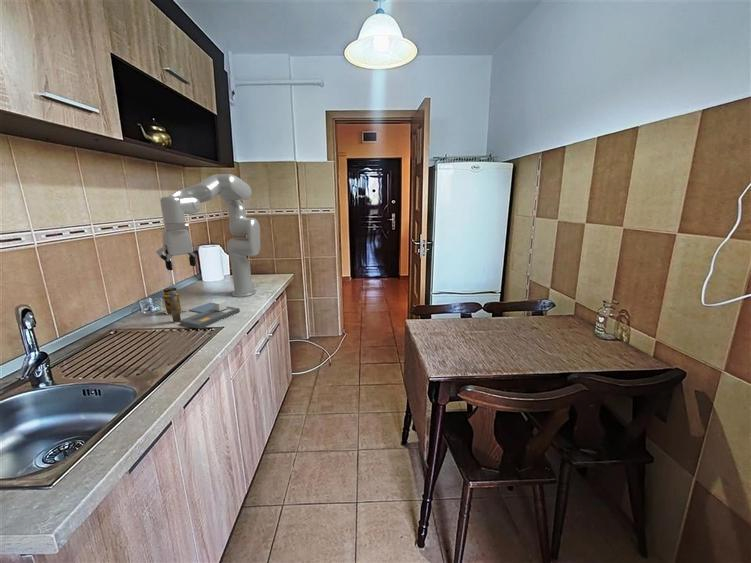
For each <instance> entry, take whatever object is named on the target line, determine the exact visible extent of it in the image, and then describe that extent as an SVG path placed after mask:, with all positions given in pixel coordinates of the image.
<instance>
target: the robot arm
mask: <svg viewBox="0 0 751 563" xmlns="http://www.w3.org/2000/svg"><path fill="white" fill-rule="evenodd" d="M252 194H253V192H252V188H251V187H250V185H249V184H248V183H247V182H246V181H244V180H242V179H241V178H240V177H238V176H237V175H235V174H233V173H232V174H231V173H222V174H221V173H220V174H216V173H215V174H213V175H210V176H208V177H207V178H205V179H203V180H202V181H200V182H199V183H196V184H194V185H190V186H188V187H185V188H182V189H179V190H176V191H175V192H173V193H171V194H170V195H168V196H163V197H160V207H161V213H162V218H163V225H164V231H162V247H160V248H159V249H157V250H156V251H155V252H156V254H157V255H158V257H159V258H160V259H162V260H163V261H164V263H165V268H166V269H167V271H173V269H174V268H173V262H172V260H171V259H172V257H174V256H180V255H181V256H182V255H189V257H188V261H189V265H190V266H191V267H196V264H197V263H196V262H197V261H196V257H197V254H198V253H199V249H200V246H199V245H197V244H195V243H192V238H191V236H190V232H189V231H188V230H189V229H187V228H188V227H189V224H188V223H186V220H185V215H195V214H197V213H199V212H200V211H201V209H202V208H201V207H202V205H201V204H202V203H205V202H210V201H212V200H213V199H214V198H215V197H217V196H218V195H219V197H220V198H221V199H222V200H223V202H224V203H225V204H226V206H227V209H228V224H229V226H228V227H229V232H230V233H231V235H233V236H241V237H233V238H231V239H229V240H228V241H227V242H226V250H227V253H228V256H229V260H230V265H231V272H232V274H231V275H232V279H233V288H234V291H232V292H231V295H232V296H233V297H236V298H239V297H241V298H243V297H249V296H252V295H255V294H256V292H257V291H256V289H255V288H258V287H259V284H258V283H255V284H253V281H252V272H251V264H250V261H249V259H248V256H249V257H250V256H251V257H254V256H257V255H259V254H260V252H261V227H260V223H259V221H258V220H257V219H256V218H253V217H247V215H246V208H245V205H244V204H243V203H242V201H248V200H250V199H251V197H252ZM242 236H244V237H242ZM245 236H247V237H245ZM193 248H194V249H193Z"/></svg>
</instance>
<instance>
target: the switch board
mask: <svg viewBox="0 0 751 563" xmlns="http://www.w3.org/2000/svg"><path fill="white" fill-rule="evenodd" d="M226 307H227V309H224V310H221V311H217V310H214V309H210V310H207V311H205V312H202V313H197V314H194V315H191V316H188V317H186V318H183V319H181V320H180V322H179V323H180V324H179V325H180V326H184V327H188V326H189V327H188V328H192V329H193V328H194V329H199V330H201V329H203V328H205V327H208V326H210V325H213V324H215V323H218V322H220V321H222V320H221V319H223V320H225V319H227V318H230V317H232V316H235V315H237V314H239V312H240V313H241V309H240V308H238V307H235V306H228V305H226ZM234 314H235V315H234ZM231 315H232V316H231ZM229 316H230V317H229ZM226 317H227V318H226ZM224 318H225V319H224ZM219 320H220V321H219ZM217 321H218V322H217ZM212 323H213V324H212Z"/></svg>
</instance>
